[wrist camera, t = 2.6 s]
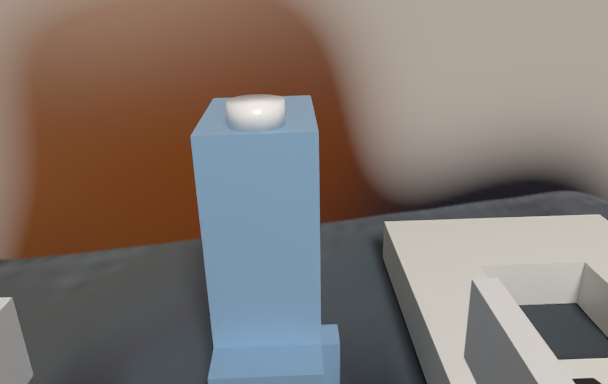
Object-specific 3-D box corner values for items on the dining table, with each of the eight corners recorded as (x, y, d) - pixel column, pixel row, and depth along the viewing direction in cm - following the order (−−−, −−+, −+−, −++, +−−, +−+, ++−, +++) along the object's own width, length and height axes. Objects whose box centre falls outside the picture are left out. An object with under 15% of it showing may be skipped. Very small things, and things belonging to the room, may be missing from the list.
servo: (236, 305, 34) (216, 72, 28) (328, 301, 34) (326, 69, 28) (215, 444, 24) (177, 124, 18) (346, 439, 24) (350, 118, 18)
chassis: (382, 257, 39) (384, 221, 38) (591, 250, 40) (599, 214, 38) (488, 557, 19) (498, 499, 18) (917, 536, 19) (953, 478, 18)
